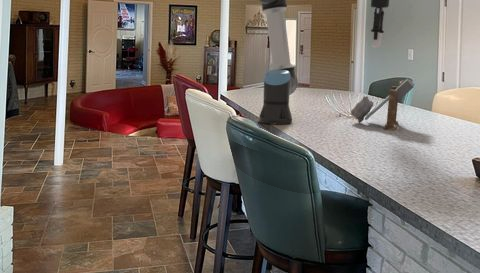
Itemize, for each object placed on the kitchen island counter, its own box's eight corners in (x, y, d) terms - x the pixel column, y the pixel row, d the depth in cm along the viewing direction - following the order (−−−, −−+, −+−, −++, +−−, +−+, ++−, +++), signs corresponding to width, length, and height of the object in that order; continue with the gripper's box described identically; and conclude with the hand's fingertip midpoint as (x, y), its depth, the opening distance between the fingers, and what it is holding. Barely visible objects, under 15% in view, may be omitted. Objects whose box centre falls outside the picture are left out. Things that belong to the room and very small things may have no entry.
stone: (375, 103, 207) (362, 94, 209) (359, 124, 212) (346, 116, 213) (377, 101, 214) (365, 92, 216) (362, 121, 219) (349, 113, 220)
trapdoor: (370, 125, 206) (364, 118, 206) (374, 120, 221) (368, 114, 221) (413, 87, 197) (406, 80, 197) (414, 84, 211) (407, 78, 212)
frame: (383, 129, 201) (386, 90, 198) (387, 121, 222) (390, 86, 218) (395, 130, 200) (399, 90, 196) (398, 122, 220) (401, 86, 216)
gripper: (387, -6, 190) (383, 47, 194) (391, 0, 213) (387, 47, 217) (368, -5, 193) (364, 47, 197) (374, 0, 215) (370, 47, 220)
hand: (376, 47), depth 207 cm, fingers open, 13 cm apart
